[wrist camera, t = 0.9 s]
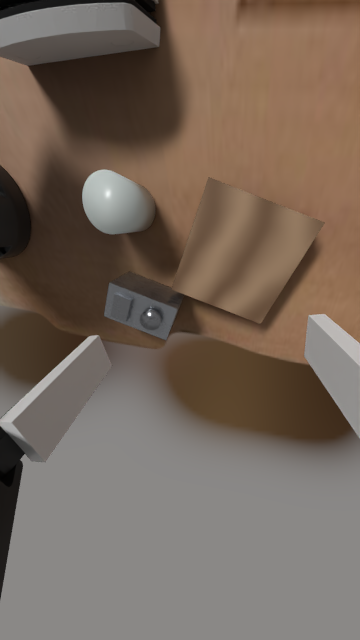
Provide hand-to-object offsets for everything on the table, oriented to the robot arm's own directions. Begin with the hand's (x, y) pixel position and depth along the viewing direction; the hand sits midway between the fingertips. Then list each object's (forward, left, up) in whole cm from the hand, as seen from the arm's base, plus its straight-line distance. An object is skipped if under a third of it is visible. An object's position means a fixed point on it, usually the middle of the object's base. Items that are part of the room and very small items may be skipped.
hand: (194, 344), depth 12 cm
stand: (+3, +4, -20) cm, 21 cm away
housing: (-7, -7, -20) cm, 23 cm away
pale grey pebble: (-13, +5, -20) cm, 25 cm away
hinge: (-22, +19, -21) cm, 36 cm away
